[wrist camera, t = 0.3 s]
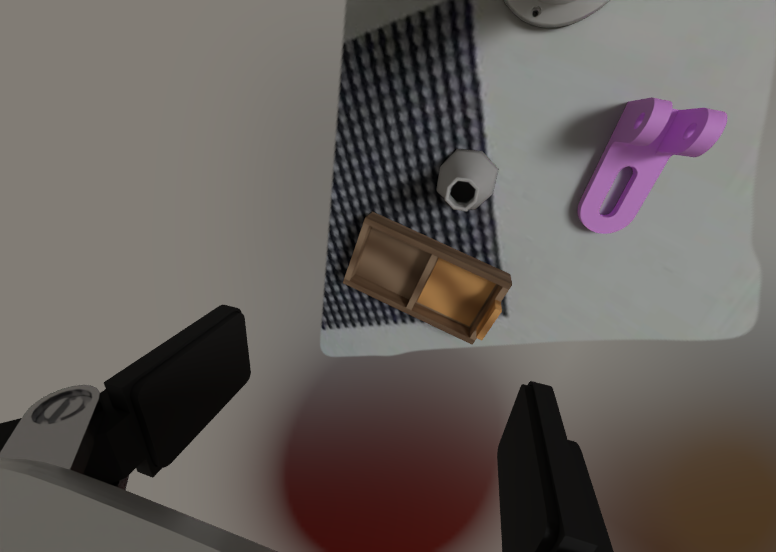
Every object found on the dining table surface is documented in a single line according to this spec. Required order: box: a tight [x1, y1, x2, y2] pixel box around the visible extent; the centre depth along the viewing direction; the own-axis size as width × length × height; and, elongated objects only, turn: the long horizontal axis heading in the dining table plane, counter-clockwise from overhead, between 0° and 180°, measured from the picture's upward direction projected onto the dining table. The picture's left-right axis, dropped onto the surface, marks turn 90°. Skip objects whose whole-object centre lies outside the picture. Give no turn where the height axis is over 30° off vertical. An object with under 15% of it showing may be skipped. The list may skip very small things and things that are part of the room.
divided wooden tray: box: [343, 212, 512, 344], centre depth 43 cm, size 11×20×6 cm, turn 69°
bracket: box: [578, 98, 727, 234], centre depth 32 cm, size 13×6×7 cm, turn 168°
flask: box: [436, 149, 499, 211], centre depth 35 cm, size 7×7×10 cm
